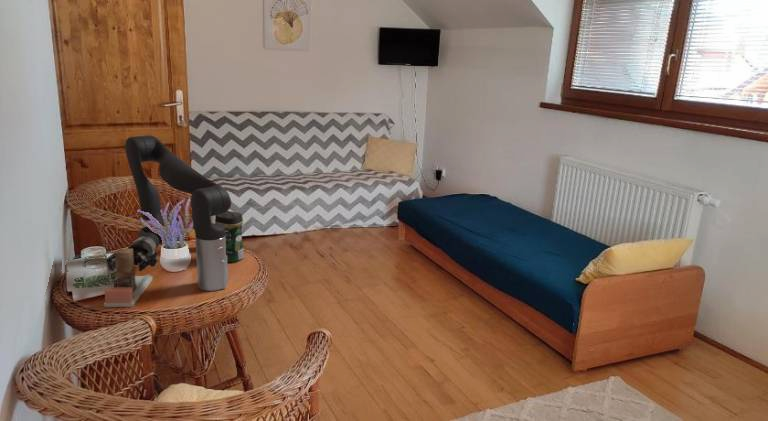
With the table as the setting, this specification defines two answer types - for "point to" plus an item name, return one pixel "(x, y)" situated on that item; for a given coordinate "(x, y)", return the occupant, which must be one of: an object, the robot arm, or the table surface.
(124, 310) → the table surface
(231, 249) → the coffee jar
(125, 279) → the chain block
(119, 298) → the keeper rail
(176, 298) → the table surface
